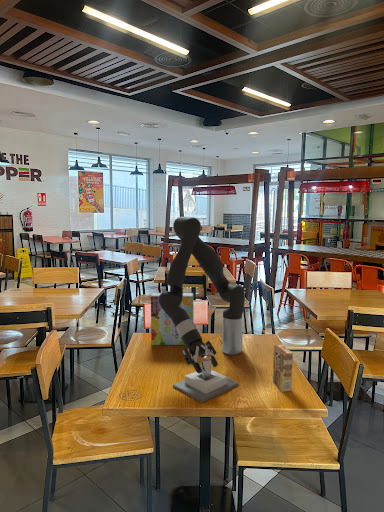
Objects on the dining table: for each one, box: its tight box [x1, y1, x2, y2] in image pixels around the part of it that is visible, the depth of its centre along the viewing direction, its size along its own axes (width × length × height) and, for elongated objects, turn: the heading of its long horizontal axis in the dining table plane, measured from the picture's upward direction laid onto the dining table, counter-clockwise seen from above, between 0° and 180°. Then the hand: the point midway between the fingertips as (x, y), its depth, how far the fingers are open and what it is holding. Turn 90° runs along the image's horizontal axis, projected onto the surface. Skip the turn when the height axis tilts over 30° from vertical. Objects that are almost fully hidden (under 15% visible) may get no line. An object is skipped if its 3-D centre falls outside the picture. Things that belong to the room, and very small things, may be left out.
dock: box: [172, 369, 239, 404], centre depth 144 cm, size 20×16×4 cm
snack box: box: [150, 292, 195, 346], centre depth 190 cm, size 22×9×26 cm, turn 89°
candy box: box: [272, 344, 294, 393], centre depth 144 cm, size 9×4×15 cm, turn 13°
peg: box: [200, 354, 212, 381], centre depth 144 cm, size 4×4×11 cm
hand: (208, 369), depth 143 cm, fingers open, 8 cm apart
